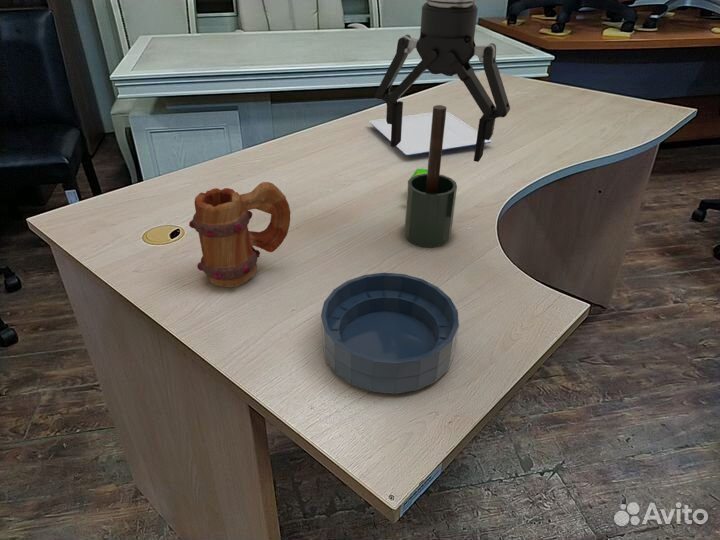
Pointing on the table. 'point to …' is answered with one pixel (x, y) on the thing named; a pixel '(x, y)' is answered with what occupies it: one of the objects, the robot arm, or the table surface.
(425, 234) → the holder
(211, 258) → the mug
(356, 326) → the bowl
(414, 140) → the plate
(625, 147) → the table surface
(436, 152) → the stick
